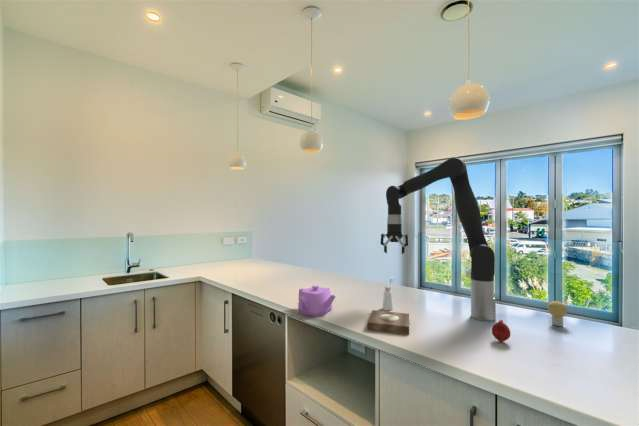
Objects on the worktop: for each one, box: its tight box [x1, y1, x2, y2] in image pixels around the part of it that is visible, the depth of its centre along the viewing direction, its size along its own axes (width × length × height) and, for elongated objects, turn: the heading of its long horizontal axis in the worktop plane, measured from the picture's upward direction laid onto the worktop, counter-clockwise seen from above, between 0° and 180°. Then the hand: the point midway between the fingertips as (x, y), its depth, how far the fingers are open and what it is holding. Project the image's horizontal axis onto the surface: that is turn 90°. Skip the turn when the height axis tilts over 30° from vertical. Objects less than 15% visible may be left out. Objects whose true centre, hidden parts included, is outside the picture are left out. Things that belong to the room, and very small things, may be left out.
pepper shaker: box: [382, 285, 394, 312], centre depth 142 cm, size 5×5×11 cm
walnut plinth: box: [367, 309, 410, 335], centre depth 121 cm, size 16×16×3 cm
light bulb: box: [547, 300, 568, 327], centre depth 121 cm, size 6×6×10 cm
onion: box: [491, 319, 511, 343], centre depth 104 cm, size 6×6×8 cm
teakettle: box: [297, 285, 336, 318], centre depth 138 cm, size 17×17×12 cm
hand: (394, 253), depth 153 cm, fingers open, 8 cm apart
